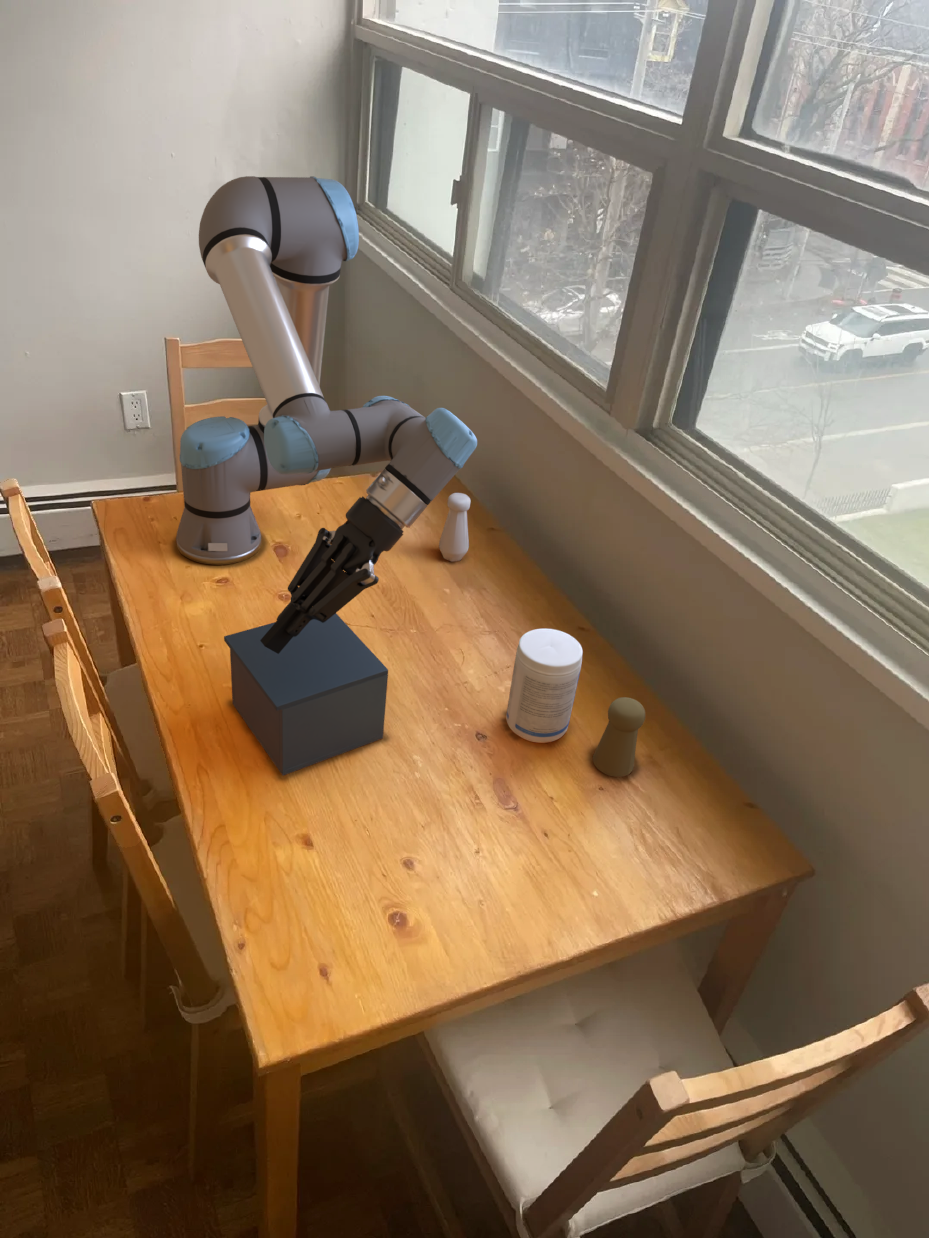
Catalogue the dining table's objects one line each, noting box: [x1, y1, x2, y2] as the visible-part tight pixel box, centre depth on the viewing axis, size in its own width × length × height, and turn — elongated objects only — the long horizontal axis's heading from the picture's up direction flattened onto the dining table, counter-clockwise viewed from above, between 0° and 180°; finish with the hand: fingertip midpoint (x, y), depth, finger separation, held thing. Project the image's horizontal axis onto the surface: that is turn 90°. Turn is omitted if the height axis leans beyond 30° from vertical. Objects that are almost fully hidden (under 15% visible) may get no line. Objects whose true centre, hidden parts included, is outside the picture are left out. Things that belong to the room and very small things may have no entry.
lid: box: [223, 612, 389, 711], centre depth 125 cm, size 17×17×1 cm
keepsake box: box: [229, 648, 389, 777], centre depth 128 cm, size 16×17×12 cm
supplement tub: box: [505, 628, 584, 744], centre depth 133 cm, size 10×10×15 cm
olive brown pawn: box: [592, 696, 646, 778], centre depth 129 cm, size 6×6×11 cm
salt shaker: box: [438, 492, 472, 563], centre depth 171 cm, size 6×6×13 cm
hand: (269, 647), depth 120 cm, fingers closed
